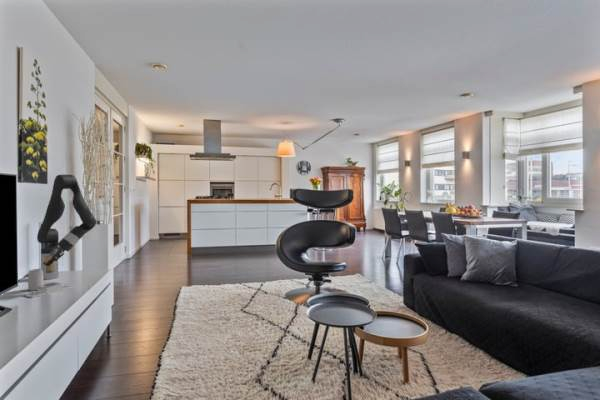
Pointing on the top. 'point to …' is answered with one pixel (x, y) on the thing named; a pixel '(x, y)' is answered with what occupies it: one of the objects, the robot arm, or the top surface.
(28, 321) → the top surface
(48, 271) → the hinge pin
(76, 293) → the top surface
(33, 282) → the can
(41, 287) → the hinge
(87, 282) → the top surface
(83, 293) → the top surface
